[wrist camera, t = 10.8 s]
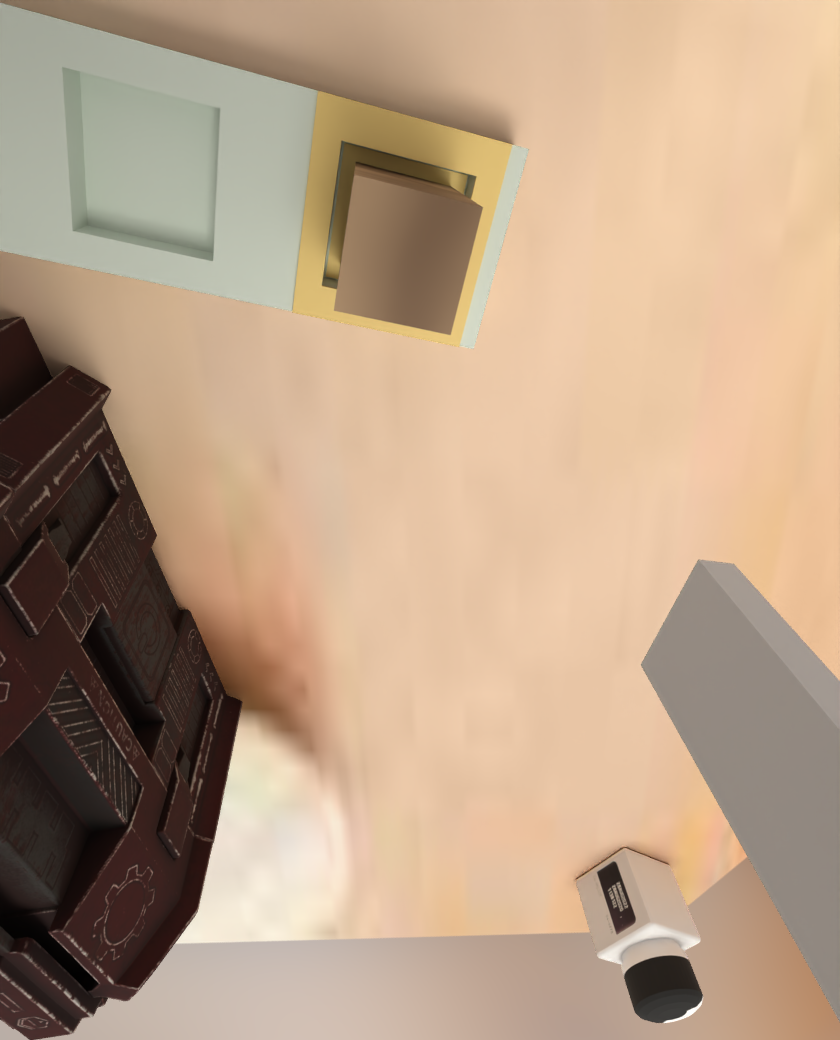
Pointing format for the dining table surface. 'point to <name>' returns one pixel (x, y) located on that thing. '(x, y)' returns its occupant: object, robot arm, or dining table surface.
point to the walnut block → (405, 249)
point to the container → (643, 932)
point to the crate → (92, 713)
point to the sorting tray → (214, 171)
